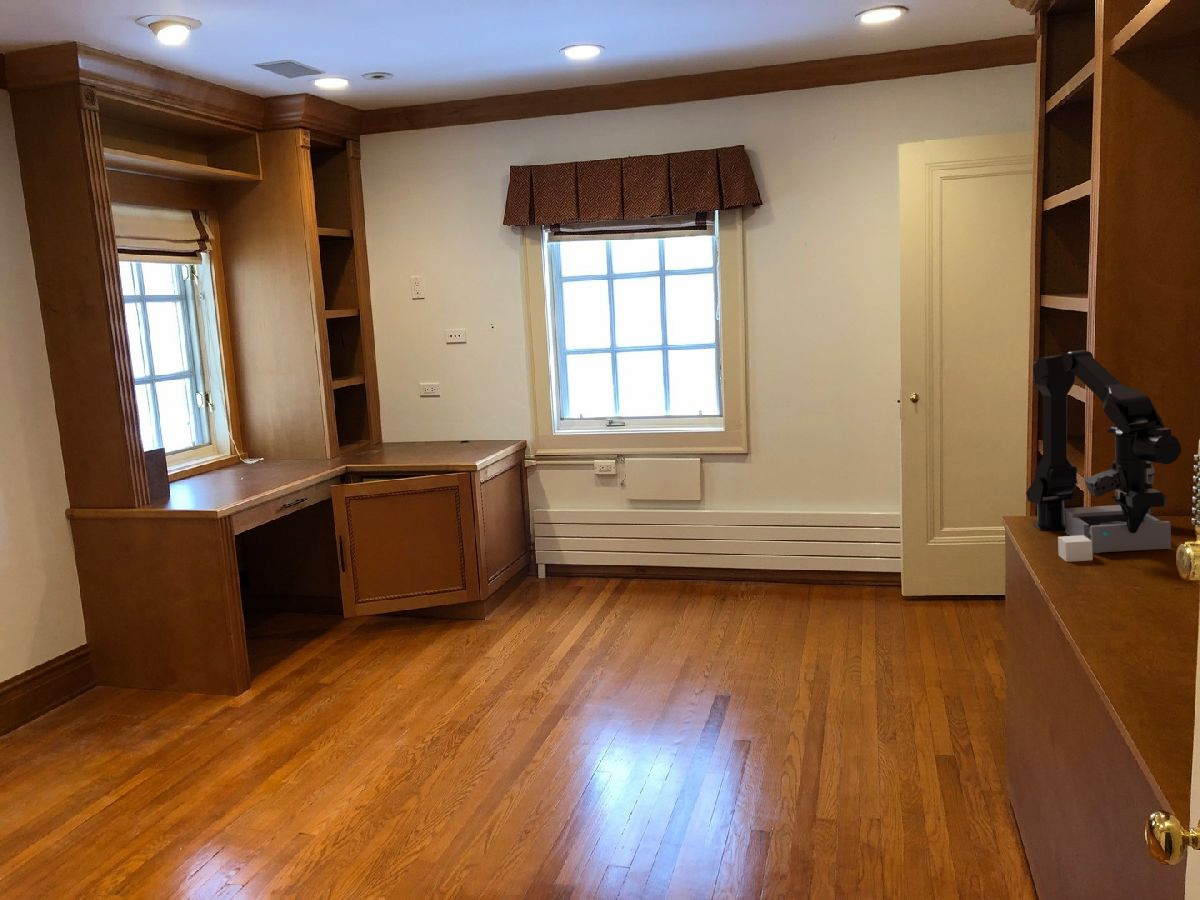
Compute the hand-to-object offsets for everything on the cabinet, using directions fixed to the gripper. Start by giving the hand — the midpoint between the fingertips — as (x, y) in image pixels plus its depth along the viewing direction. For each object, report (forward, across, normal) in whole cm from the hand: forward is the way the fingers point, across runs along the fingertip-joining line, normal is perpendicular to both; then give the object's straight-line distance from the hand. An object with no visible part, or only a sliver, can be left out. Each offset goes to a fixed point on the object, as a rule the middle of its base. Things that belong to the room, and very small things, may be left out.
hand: (1132, 532), depth 199 cm
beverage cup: (+5, -24, +10) cm, 26 cm away
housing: (+4, -12, 0) cm, 13 cm away
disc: (+2, -8, 0) cm, 9 cm away
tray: (+4, -7, 0) cm, 8 cm away
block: (+4, +1, -11) cm, 12 cm away
